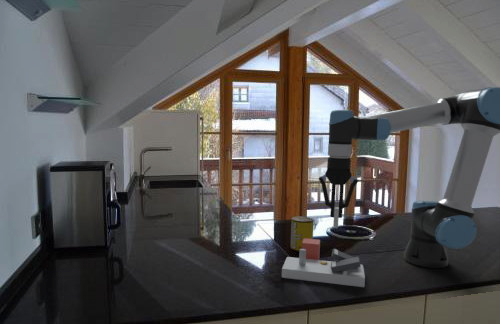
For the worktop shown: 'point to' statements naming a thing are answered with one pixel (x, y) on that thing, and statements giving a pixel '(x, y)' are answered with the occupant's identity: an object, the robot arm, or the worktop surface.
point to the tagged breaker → (340, 255)
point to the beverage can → (301, 231)
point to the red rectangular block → (311, 248)
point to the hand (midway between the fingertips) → (335, 226)
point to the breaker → (345, 264)
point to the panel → (321, 271)
